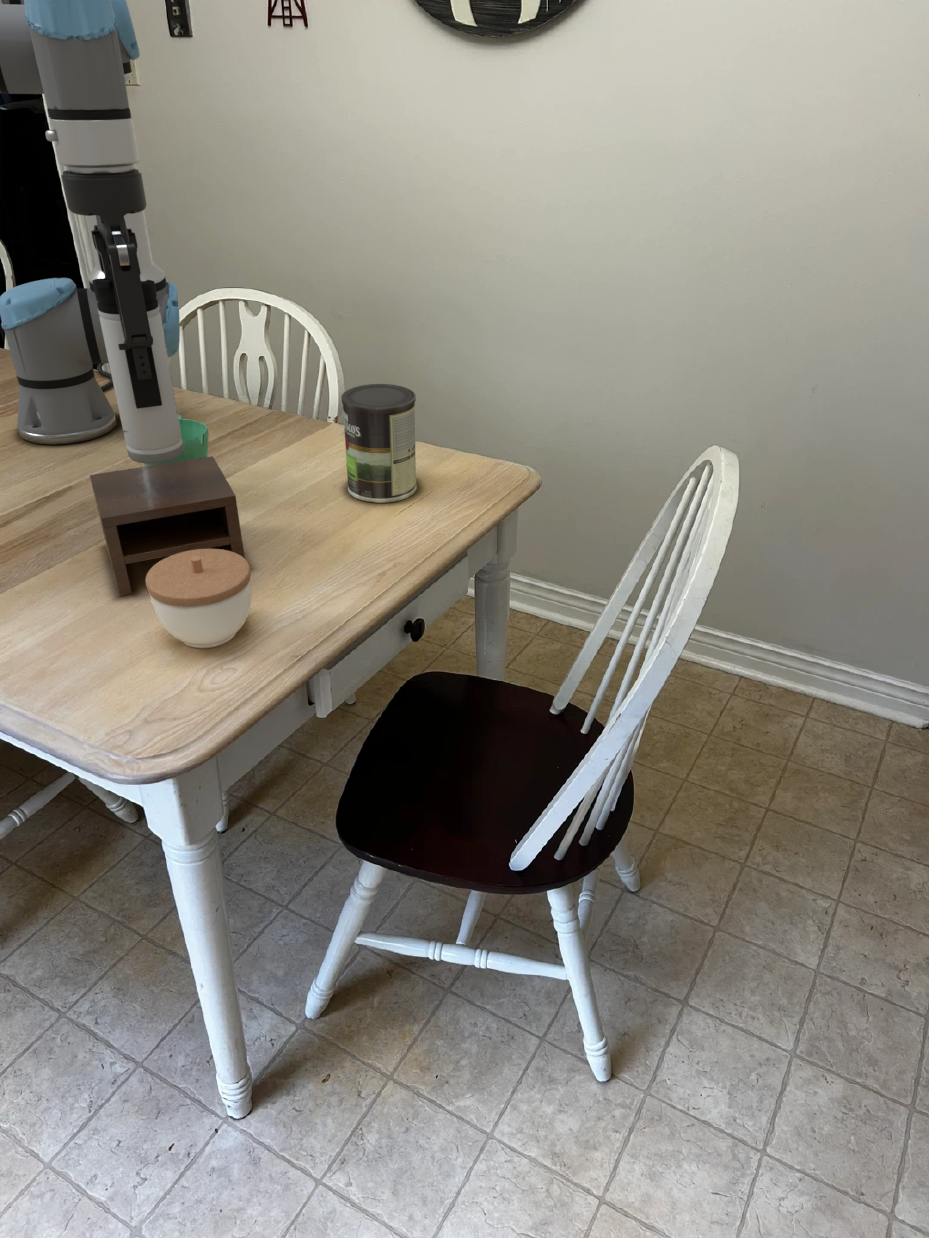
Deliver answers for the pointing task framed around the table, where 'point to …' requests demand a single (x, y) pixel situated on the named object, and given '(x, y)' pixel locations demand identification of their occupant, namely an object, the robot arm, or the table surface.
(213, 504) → the shelf
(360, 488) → the coffee can
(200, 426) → the mug
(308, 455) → the table surface
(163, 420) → the travel mug
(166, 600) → the trinket box
